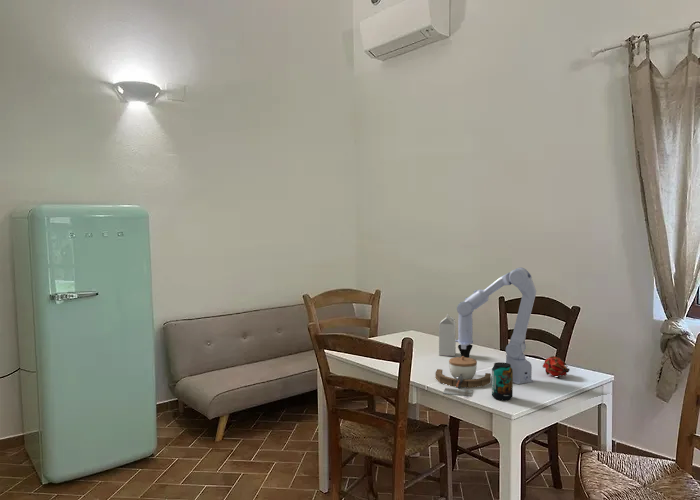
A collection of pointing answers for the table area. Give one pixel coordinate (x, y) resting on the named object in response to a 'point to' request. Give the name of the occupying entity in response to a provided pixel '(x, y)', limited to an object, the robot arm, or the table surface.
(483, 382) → the yoke
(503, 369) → the beverage can
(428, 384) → the table surface
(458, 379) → the indicator
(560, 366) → the dragon fruit
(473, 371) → the lidded jar
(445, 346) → the milk carton
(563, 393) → the table surface
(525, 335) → the robot arm
